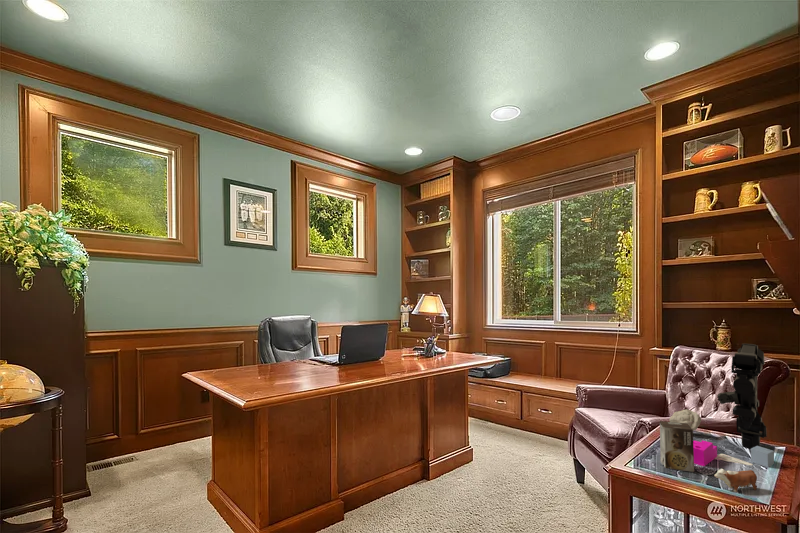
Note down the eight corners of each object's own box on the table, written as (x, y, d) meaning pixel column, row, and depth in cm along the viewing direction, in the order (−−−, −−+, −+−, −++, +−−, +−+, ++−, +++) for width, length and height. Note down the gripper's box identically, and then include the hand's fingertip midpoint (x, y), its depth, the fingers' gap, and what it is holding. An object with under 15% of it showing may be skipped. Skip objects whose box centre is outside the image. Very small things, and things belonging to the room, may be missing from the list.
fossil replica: (665, 427, 186) (665, 405, 186) (680, 426, 188) (680, 404, 188) (690, 438, 174) (689, 415, 174) (705, 436, 176) (705, 413, 176)
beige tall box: (688, 467, 150) (687, 422, 150) (694, 475, 144) (694, 429, 144) (659, 463, 153) (659, 420, 153) (664, 471, 147) (664, 426, 147)
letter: (721, 453, 160) (721, 453, 160) (753, 464, 151) (753, 464, 151) (705, 460, 154) (705, 460, 154) (736, 472, 146) (736, 472, 146)
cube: (757, 458, 156) (757, 445, 156) (774, 464, 151) (773, 450, 151) (750, 461, 153) (750, 448, 153) (767, 467, 149) (767, 453, 149)
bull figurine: (712, 491, 134) (711, 466, 134) (750, 489, 135) (749, 464, 135) (723, 499, 129) (723, 473, 129) (763, 496, 130) (762, 471, 130)
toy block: (703, 450, 149) (679, 444, 155) (704, 468, 149) (680, 460, 155) (716, 439, 158) (693, 433, 164) (717, 456, 158) (694, 449, 164)
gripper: (722, 378, 167) (723, 416, 167) (715, 389, 153) (715, 430, 153) (758, 383, 159) (759, 424, 159) (754, 395, 145) (755, 439, 146)
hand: (746, 429), depth 154 cm, fingers closed
